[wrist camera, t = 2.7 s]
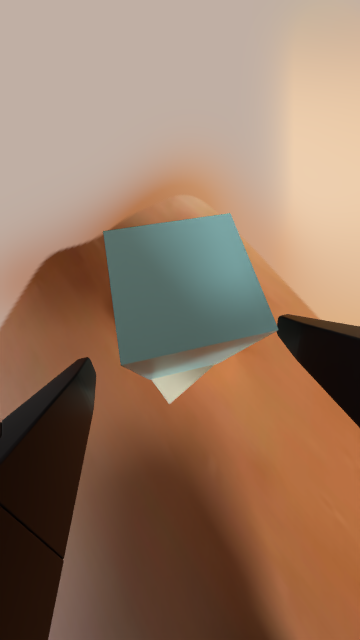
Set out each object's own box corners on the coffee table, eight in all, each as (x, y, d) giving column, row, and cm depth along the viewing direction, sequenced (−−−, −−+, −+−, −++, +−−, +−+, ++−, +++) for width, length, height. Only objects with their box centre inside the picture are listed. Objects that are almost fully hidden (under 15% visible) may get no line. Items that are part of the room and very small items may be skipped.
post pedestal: (169, 401, 17) (169, 408, 11) (125, 341, 19) (101, 315, 12) (225, 352, 19) (255, 332, 12) (180, 300, 21) (185, 259, 14)
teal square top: (218, 363, 15) (278, 330, 7) (149, 379, 15) (120, 365, 6) (200, 301, 17) (230, 213, 8) (137, 313, 16) (103, 231, 8)
